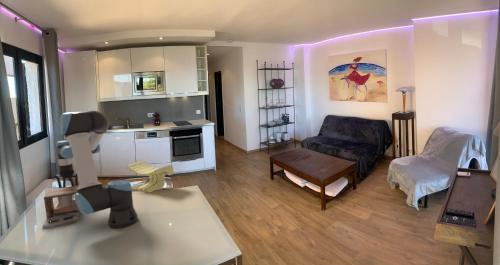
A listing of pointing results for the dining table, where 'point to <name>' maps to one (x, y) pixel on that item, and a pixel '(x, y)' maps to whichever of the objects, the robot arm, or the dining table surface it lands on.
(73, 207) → the sled
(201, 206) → the dining table surface
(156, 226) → the dining table surface
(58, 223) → the tunnel
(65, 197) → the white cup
